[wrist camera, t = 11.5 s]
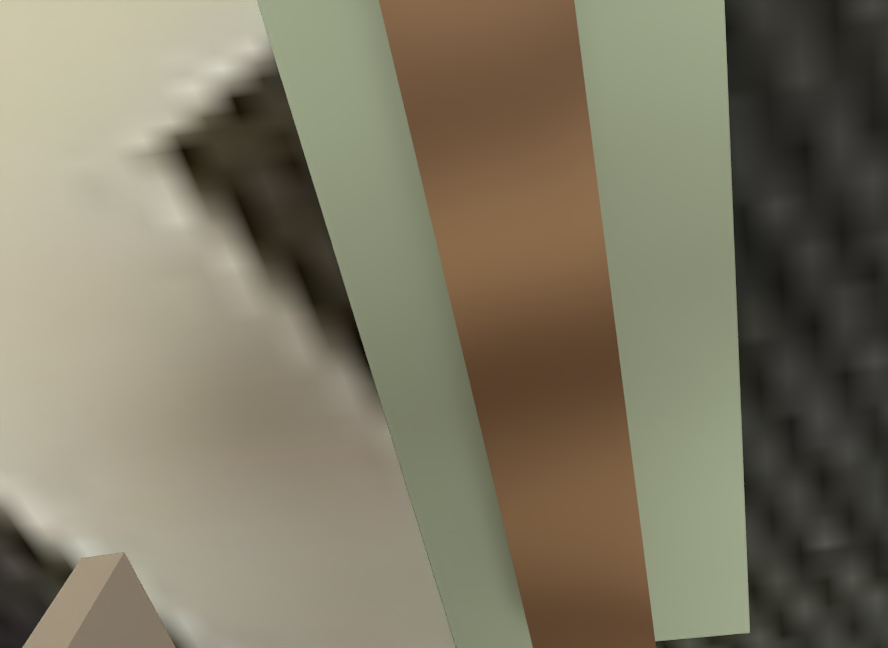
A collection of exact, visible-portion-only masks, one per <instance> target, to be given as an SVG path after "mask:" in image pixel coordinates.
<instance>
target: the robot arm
mask: <svg viewBox="0 0 888 648" xmlns="http://www.w3.org/2000/svg"><path fill="white" fill-rule="evenodd" d="M22 648H176V647H175V645H174V643H173V642H172V640H171V638H170V636H169V634H168V632H167V631H166V629H165V627H164V625H163V623H162V621H161V619H160V618H159V616H158V614H157V612H156V610H155V608H154V607H153V605H152V603H151V601H150V599H149V597H148V595H147V594H146V592H145V590H144V588H143V586H142V584H141V583H140V581H139V579H138V577H137V575H136V573H135V571H134V570H133V568H132V566H131V564H130V562H129V560H128V559H127V557H126V555H125V553H124V552H123V553H116V554H109V555H101V556H94V557H87V558H81V560H80V561H79V563H78V564H77V566H76V567H75V569H74V570H73V572H72V573H71V575H70V576H69V578H68V579H67V581H66V582H65V584H64V585H63V587H62V588H61V590H60V591H59V593H58V594H57V596H56V597H55V599H54V600H53V602H52V603H51V605H50V606H49V608H48V609H47V611H46V613H45V614H44V616H43V617H42V619H41V620H40V622H39V623H38V625H37V626H36V628H35V629H34V631H33V632H32V634H31V635H30V637H29V638H28V640H27V641H26V643H25V644H24V646H23V647H22Z"/></svg>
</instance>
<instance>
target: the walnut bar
mask: <svg viewBox="0 0 888 648" xmlns="http://www.w3.org/2000/svg"><path fill="white" fill-rule="evenodd" d="M379 4H380V8H381V12H382V16H383V20H384V25H385V29H386V33H387V37H388V41H389V46H390V50H391V54H392V58H393V62H394V67H395V71H396V75H397V79H398V83H399V88H400V92H401V96H402V100H403V104H404V109H405V113H406V117H407V121H408V125H409V130H410V134H411V138H412V142H413V146H414V151H415V155H416V159H417V163H418V167H419V172H420V176H421V180H422V184H423V188H424V193H425V197H426V201H427V205H428V209H429V214H430V218H431V222H432V226H433V230H434V235H435V239H436V243H437V247H438V251H439V256H440V260H441V264H442V268H443V272H444V277H445V281H446V285H447V289H448V293H449V298H450V302H451V306H452V310H453V314H454V319H455V323H456V327H457V331H458V335H459V340H460V344H461V348H462V352H463V356H464V361H465V365H466V369H467V373H468V377H469V382H470V386H471V390H472V394H473V398H474V403H475V407H476V411H477V415H478V419H479V424H480V428H481V432H482V436H483V440H484V445H485V449H486V453H487V457H488V461H489V466H490V470H491V474H492V478H493V482H494V487H495V491H496V495H497V499H498V503H499V508H500V512H501V516H502V520H503V524H504V529H505V533H506V537H507V541H508V545H509V550H510V554H511V558H512V562H513V566H514V571H515V575H516V579H517V583H518V587H519V592H520V596H521V600H522V604H523V608H524V613H525V617H526V621H527V625H528V629H529V634H530V638H531V642H532V646H533V648H656V643H655V635H654V627H653V619H652V611H651V604H650V596H649V588H648V580H647V572H646V564H645V556H644V548H643V540H642V532H641V524H640V516H639V509H638V501H637V493H636V485H635V477H634V469H633V461H632V453H631V445H630V437H629V429H628V421H627V414H626V406H625V398H624V390H623V382H622V374H621V366H620V358H619V350H618V342H617V334H616V326H615V319H614V311H613V303H612V295H611V287H610V279H609V271H608V263H607V255H606V247H605V239H604V231H603V224H602V216H601V208H600V200H599V192H598V184H597V176H596V168H595V160H594V152H593V144H592V136H591V129H590V121H589V113H588V105H587V97H586V89H585V81H584V73H583V65H582V57H581V49H580V41H579V34H578V26H577V18H576V10H575V2H574V0H379Z"/></svg>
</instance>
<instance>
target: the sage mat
mask: <svg viewBox="0 0 888 648" xmlns="http://www.w3.org/2000/svg"><path fill="white" fill-rule="evenodd" d="M257 2H258V5H259V8H260V11H261V15H262V18H263V21H264V24H265V28H266V31H267V34H268V37H269V41H270V44H271V47H272V50H273V54H274V57H275V60H276V63H277V67H278V70H279V73H280V76H281V80H282V83H283V86H284V89H285V93H286V96H287V99H288V102H289V106H290V109H291V112H292V115H293V119H294V122H295V125H296V128H297V132H298V135H299V138H300V142H301V145H302V148H303V151H304V155H305V158H306V161H307V164H308V168H309V171H310V174H311V177H312V181H313V184H314V187H315V190H316V194H317V197H318V200H319V203H320V207H321V210H322V213H323V216H324V220H325V223H326V226H327V229H328V233H329V236H330V239H331V242H332V246H333V249H334V252H335V255H336V259H337V262H338V265H339V268H340V272H341V275H342V278H343V281H344V285H345V288H346V291H347V294H348V298H349V301H350V304H351V307H352V311H353V314H354V317H355V320H356V324H357V327H358V330H359V333H360V337H361V340H362V343H363V346H364V350H365V353H366V356H367V359H368V363H369V366H370V369H371V372H372V376H373V379H374V382H375V385H376V389H377V392H378V395H379V398H380V402H381V405H382V408H383V411H384V415H385V418H386V421H387V424H388V428H389V431H390V434H391V437H392V441H393V444H394V447H395V450H396V454H397V457H398V460H399V463H400V467H401V470H402V473H403V476H404V480H405V483H406V486H407V489H408V493H409V496H410V499H411V502H412V506H413V509H414V512H415V515H416V519H417V522H418V525H419V528H420V532H421V535H422V538H423V542H424V545H425V548H426V551H427V555H428V558H429V561H430V564H431V568H432V571H433V574H434V577H435V581H436V584H437V587H438V590H439V594H440V597H441V600H442V603H443V607H444V610H445V613H446V616H447V620H448V623H449V626H450V629H451V633H452V636H453V639H454V642H455V646H456V648H533V646H532V642H531V638H530V634H529V629H528V625H527V621H526V617H525V613H524V608H523V604H522V600H521V596H520V592H519V587H518V583H517V579H516V575H515V571H514V566H513V562H512V558H511V554H510V550H509V545H508V541H507V537H506V533H505V529H504V524H503V520H502V516H501V512H500V508H499V503H498V499H497V495H496V491H495V487H494V482H493V478H492V474H491V470H490V466H489V461H488V457H487V453H486V449H485V445H484V440H483V436H482V432H481V428H480V424H479V419H478V415H477V411H476V407H475V403H474V398H473V394H472V390H471V386H470V382H469V377H468V373H467V369H466V365H465V361H464V356H463V352H462V348H461V344H460V340H459V335H458V331H457V327H456V323H455V319H454V314H453V310H452V306H451V302H450V298H449V293H448V289H447V285H446V281H445V277H444V272H443V268H442V264H441V260H440V256H439V251H438V247H437V243H436V239H435V235H434V230H433V226H432V222H431V218H430V214H429V209H428V205H427V201H426V197H425V193H424V188H423V184H422V180H421V176H420V172H419V167H418V163H417V159H416V155H415V151H414V146H413V142H412V138H411V134H410V130H409V125H408V121H407V117H406V113H405V109H404V104H403V100H402V96H401V92H400V88H399V83H398V79H397V75H396V71H395V67H394V62H393V58H392V54H391V50H390V46H389V41H388V37H387V33H386V29H385V25H384V20H383V16H382V12H381V8H380V4H379V0H257ZM574 2H575V10H576V18H577V26H578V34H579V41H580V49H581V57H582V65H583V73H584V81H585V89H586V97H587V105H588V113H589V121H590V129H591V136H592V144H593V152H594V160H595V168H596V176H597V184H598V192H599V200H600V208H601V216H602V224H603V231H604V239H605V247H606V255H607V263H608V271H609V279H610V287H611V295H612V303H613V311H614V319H615V326H616V334H617V342H618V350H619V358H620V366H621V374H622V382H623V390H624V398H625V406H626V414H627V421H628V429H629V437H630V445H631V453H632V461H633V469H634V477H635V485H636V493H637V501H638V509H639V516H640V524H641V532H642V540H643V548H644V556H645V564H646V572H647V580H648V588H649V596H650V604H651V611H652V619H653V627H654V635H655V641H664V640H675V639H686V638H697V637H708V636H719V635H730V634H741V633H750V623H749V598H748V573H747V548H746V524H745V499H744V474H743V449H742V425H741V400H740V375H739V350H738V326H737V301H736V276H735V251H734V227H733V202H732V177H731V153H730V128H729V103H728V78H727V54H726V29H725V4H724V0H574Z"/></svg>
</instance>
